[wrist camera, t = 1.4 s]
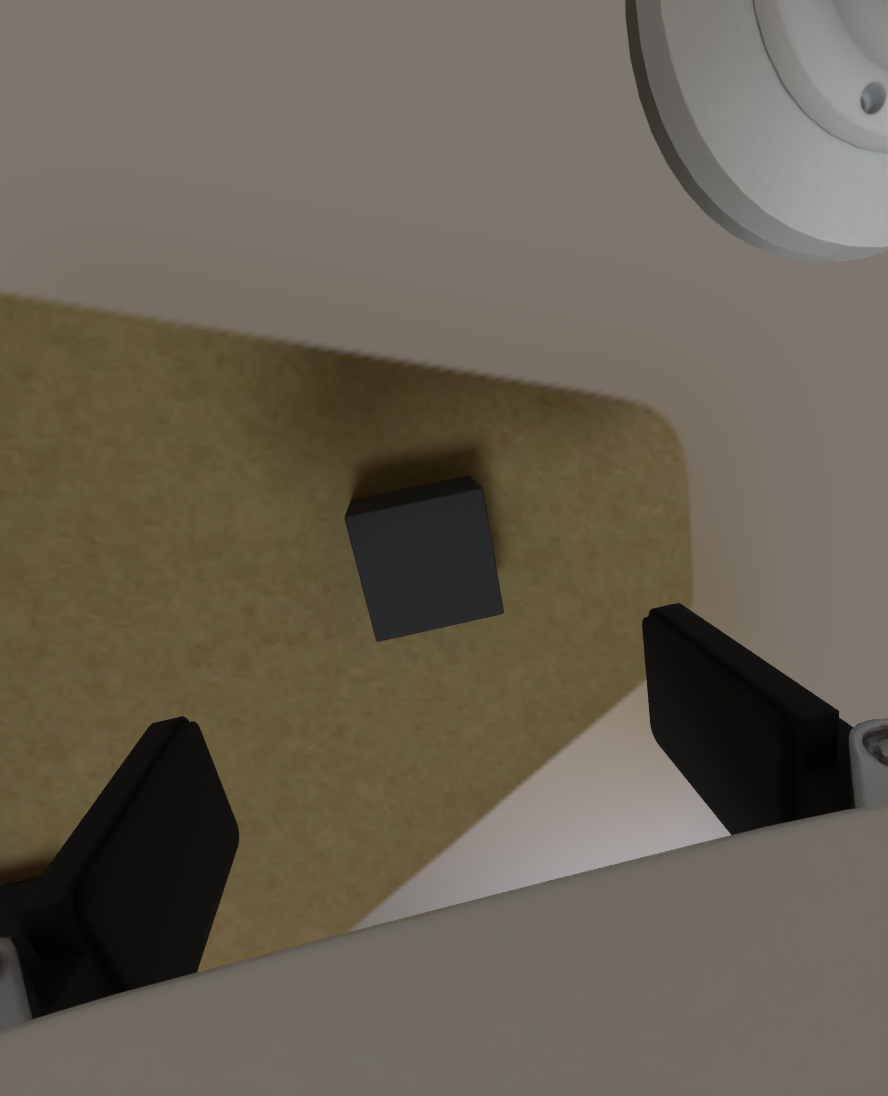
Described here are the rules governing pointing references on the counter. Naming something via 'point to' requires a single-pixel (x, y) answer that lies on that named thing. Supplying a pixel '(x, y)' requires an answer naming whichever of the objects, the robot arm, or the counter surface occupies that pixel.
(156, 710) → the counter surface
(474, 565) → the small pad
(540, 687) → the counter surface
